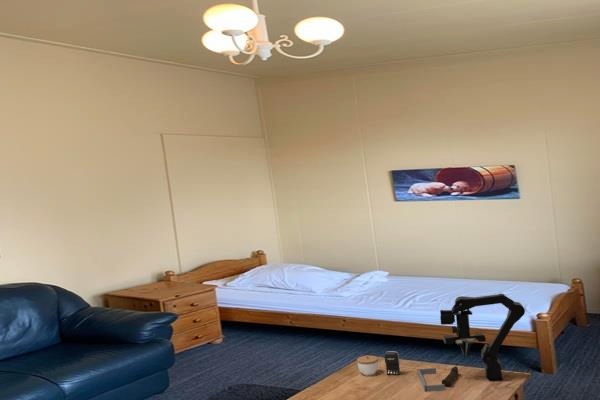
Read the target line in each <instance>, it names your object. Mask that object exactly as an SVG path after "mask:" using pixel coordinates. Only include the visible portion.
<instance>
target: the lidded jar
mask: <svg viewBox="0 0 600 400" xmlns="http://www.w3.org/2000/svg"><path fill="white" fill-rule="evenodd" d="M356 361H357V367H358V371H360V373H361V374H362V375H363V376H366V377H367V376H368V377H369V376H374V375H375V373H376V372H378V368H379V357H377V356H375V355H368V354H367V355H361V356H360V357H357V359H356Z"/></svg>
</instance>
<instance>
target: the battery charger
mask: <svg viewBox="0 0 600 400" xmlns="http://www.w3.org/2000/svg"><path fill="white" fill-rule="evenodd" d="M384 363H385V370H386V375H387V376H399V375H401V370H400V355H399V352H397V351H391V350H390V351H386V352H385V353H384Z"/></svg>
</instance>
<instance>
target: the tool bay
mask: <svg viewBox="0 0 600 400" xmlns="http://www.w3.org/2000/svg"><path fill="white" fill-rule="evenodd" d="M430 374H431V375H432V374H433V375H434V374H437V367H429V368H428V367H427V368H417V375H418V379H419V381H420V383H421V385H422V387H423V389H424V392H436V391H437V392H439V391H446V387H445V385H444V384H442V383H441V384H429V385H428V384H427V383H426V381H425V379H424V377H423V376H424V375H430Z"/></svg>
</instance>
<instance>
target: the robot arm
mask: <svg viewBox="0 0 600 400" xmlns="http://www.w3.org/2000/svg"><path fill="white" fill-rule="evenodd" d="M496 304H498V305H499V304H501V305H503V306H504V307H505V308H506V309H508V310H507V315H506V318H505V319H504V321H503V322H502V324H501V326H500V328H499V329H498V331H497V333H496V335H495V336H494V337H493V339H492V340H491V342H490V343H489V344H487V343H484V346H483V348H482V349H481V350H480V351H481V354H480V356H481V359H482V362H483V363H484V364H486V365H485V368H484V372H485V378H486V379H487V380H488V381H489V382H496V381H504V378H503V376H502V375H503V374H502V373H503V372H502V365H501V362H500V359H499V357H498V353H499V349H500V347H502V345H503V343H504V341H505V339H506V338H507V336H508V334H509V333H510V331H511V329H513V327H514V325H515V324H516V323H517V322H519V320H521V318H522V317H523V316H525V313H526V311H525V310H526V309H525V307H524V306H523V304H522V303H521V302H519V301H514V300H513V299H511V298H509V297H508V296H507V295H505V294H504V293H498V294H490V295H482V296H477V297H476V296H475V297H472V296H461V295H460V296H457V297H456V298H455V300H454V305H453V306H452V308H451V309H447V310H444V309H441V310H440V317H439V318H440V325H442V326H443V325H452V326H451V333H452V334H455V335H456V336H453V335H452V334H448V335H446V334H445V335H444V336H443V337H442V338H443V342H444V344H445V345H453V344H454V343H455V344H457V346H459V347H460V349H461V350H460V351H461V352H462V354H463V357H468V356H469V352H470V349H471V347H472V345H474V344H475V342H474V341H476V340H477V341H478V342H480V343H483V342H486V340H487V339H486V335H485V334H484V333H482V332H475V333H473V335H471V328H470V316H473V312H472V311H471V309H473V308H475V307H482V306H489V305H496ZM454 323H456V326H455V325H454ZM453 325H454V326H453ZM463 341H465V344H464V342H463Z"/></svg>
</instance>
